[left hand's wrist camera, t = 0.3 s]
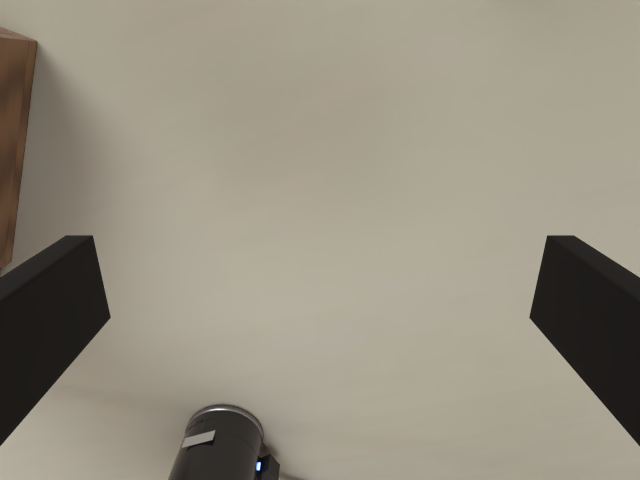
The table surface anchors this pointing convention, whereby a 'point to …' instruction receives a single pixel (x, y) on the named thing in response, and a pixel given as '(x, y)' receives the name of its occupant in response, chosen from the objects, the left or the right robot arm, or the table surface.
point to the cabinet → (13, 128)
